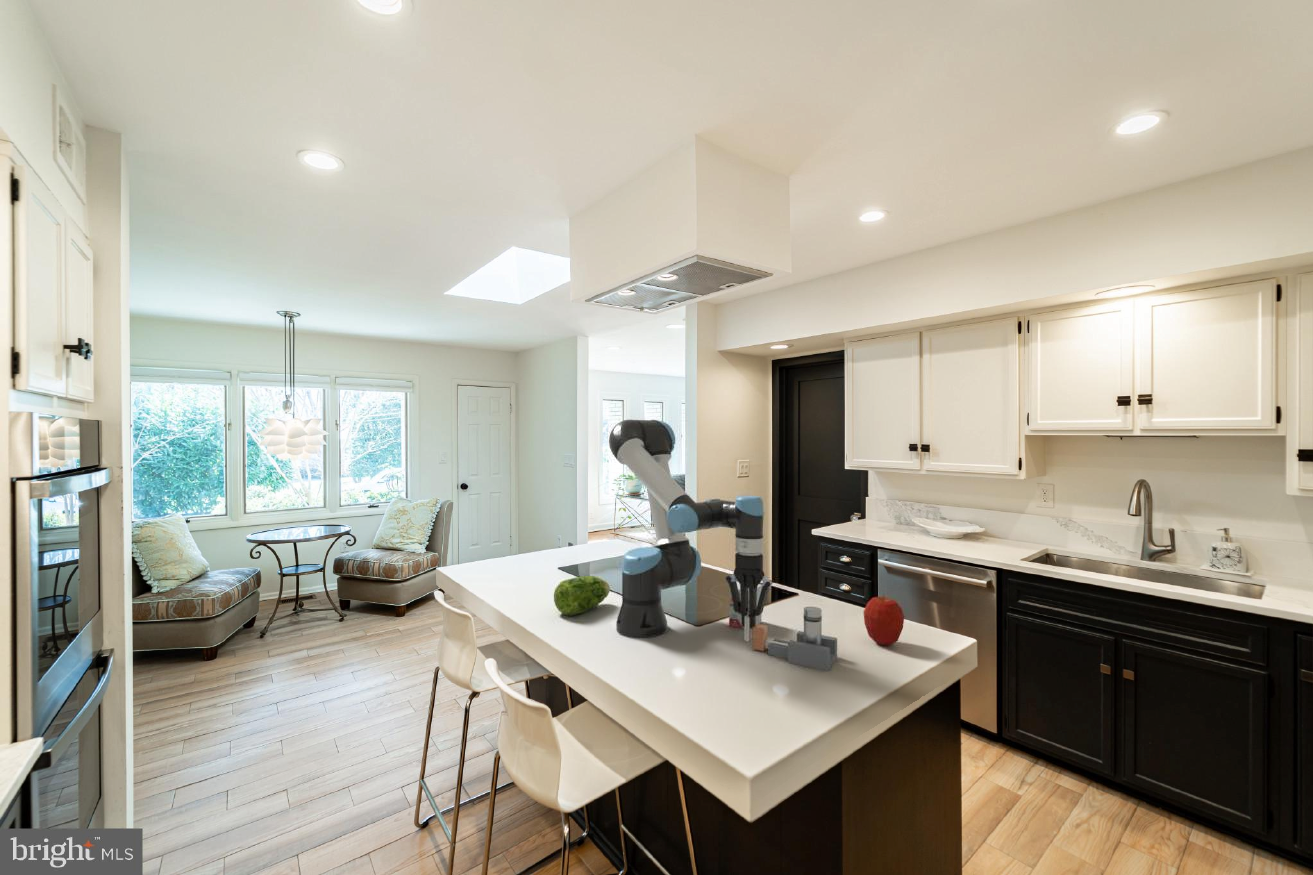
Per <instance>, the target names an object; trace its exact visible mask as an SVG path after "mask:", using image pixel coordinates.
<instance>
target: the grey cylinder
mask: <svg viewBox="0 0 1313 875" xmlns="http://www.w3.org/2000/svg"><path fill="white" fill-rule="evenodd" d="M822 612H823V611H822V609H821V608H820V607H817V606H805V607H803V632H804V643H808V644H813V645H819V646H821V635H822V618H823V615H822Z"/></svg>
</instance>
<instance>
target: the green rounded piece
mask: <svg viewBox="0 0 1313 875" xmlns="http://www.w3.org/2000/svg"><path fill="white" fill-rule="evenodd" d="M610 589H611V587H610V585H609V583H608V582H607V581H606V579H602V578H601V577H598V576H595V575H585V576H579V577H578V576H577V577H572V578H568V579H565V580H562V581H560V582H559V584H557V586H556V587H555V588H554V592H553V602H554V605H555V607H556V609H557V611H558V612H560V613H561V614H562V615H565V616H574V615H578V614H582V613H584V612H586V611H589V610H591V609H593V608H595V607H596V606H598V605H600V604H601V603H603V601H604V600H605V599H606V598H607V597H608V596H609V594H610V591H611V590H610Z"/></svg>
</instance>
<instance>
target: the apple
mask: <svg viewBox="0 0 1313 875" xmlns="http://www.w3.org/2000/svg"><path fill="white" fill-rule="evenodd" d="M862 613H863V621H864V626H865V629H866V631H867V634H868V636H869V638H870V639H872V641H874V642H875V643H876V644H877V645H882V646H886V647H887V646H888V647H889V646H893V644H895V643H897V642H899V638H900V636H901V634H902V631H903V629H904V622H905V614H904V612H903V609H902V607H901V606H900V605H899V603H898V602H897V601H896V600H893V599H891V598H889V597H886V596H885V594H884V593H882V596H875V597H872V598H871V599H870V600H869V601H868V602H867V603H866V605H865V608H864V610H863V612H862Z"/></svg>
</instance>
